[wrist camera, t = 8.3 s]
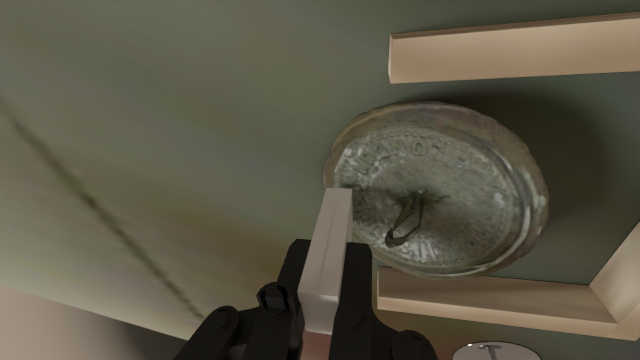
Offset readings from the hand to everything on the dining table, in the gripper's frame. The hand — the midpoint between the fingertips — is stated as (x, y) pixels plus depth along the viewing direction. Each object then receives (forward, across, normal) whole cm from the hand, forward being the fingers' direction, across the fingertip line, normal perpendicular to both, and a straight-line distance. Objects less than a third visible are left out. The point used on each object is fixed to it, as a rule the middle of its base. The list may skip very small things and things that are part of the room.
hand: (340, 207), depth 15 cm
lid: (+2, +4, +1) cm, 4 cm away
